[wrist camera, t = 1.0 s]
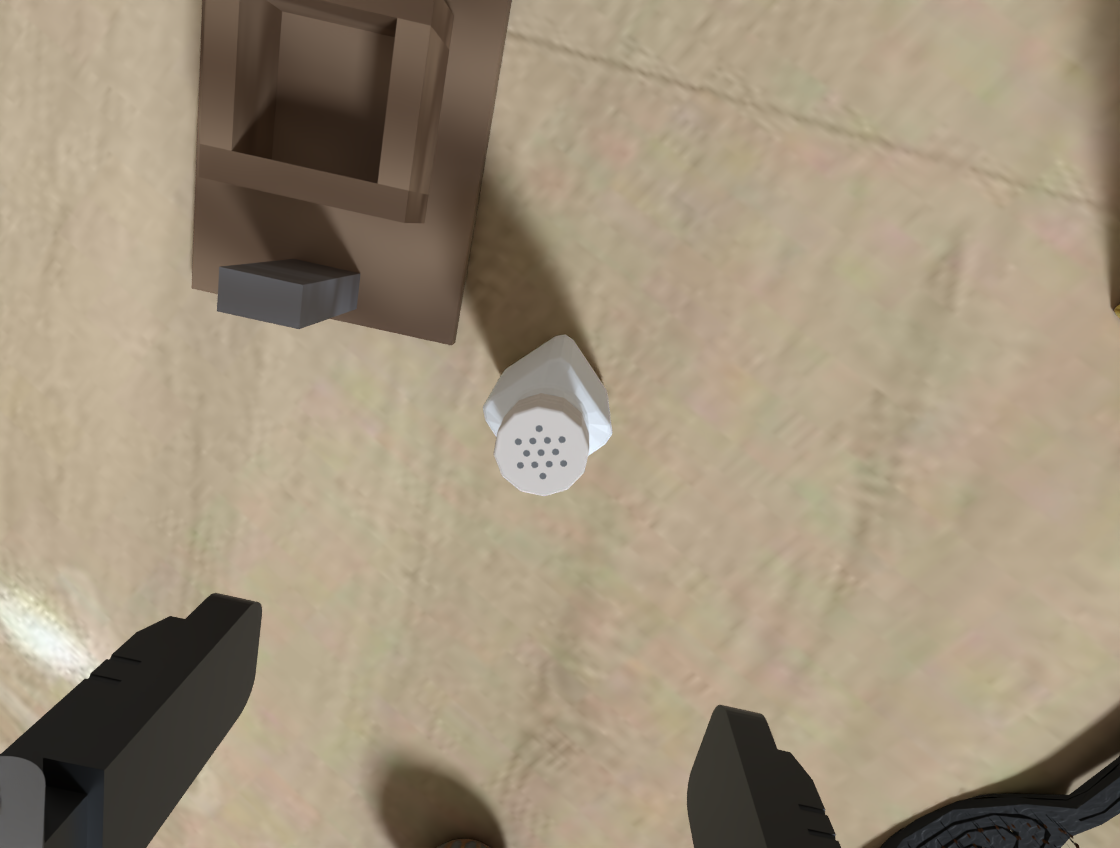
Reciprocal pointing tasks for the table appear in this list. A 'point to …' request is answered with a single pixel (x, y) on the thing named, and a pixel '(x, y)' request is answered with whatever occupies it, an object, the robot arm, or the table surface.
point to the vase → (463, 844)
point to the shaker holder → (343, 158)
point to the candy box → (1117, 310)
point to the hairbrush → (1017, 818)
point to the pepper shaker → (548, 417)
